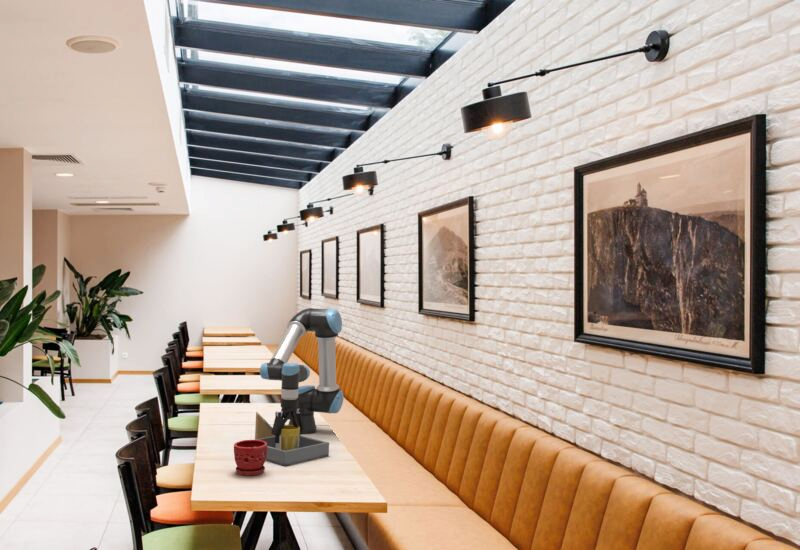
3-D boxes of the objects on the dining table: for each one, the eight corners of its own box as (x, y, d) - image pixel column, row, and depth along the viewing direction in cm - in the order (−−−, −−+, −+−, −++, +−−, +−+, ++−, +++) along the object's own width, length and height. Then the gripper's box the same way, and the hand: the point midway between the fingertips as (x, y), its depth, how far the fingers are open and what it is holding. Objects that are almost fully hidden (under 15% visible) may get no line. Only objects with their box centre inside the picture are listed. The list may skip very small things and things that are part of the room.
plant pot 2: (276, 445, 322) (277, 424, 322) (299, 446, 323) (300, 424, 323) (274, 451, 312) (275, 429, 312) (298, 452, 313) (299, 429, 313)
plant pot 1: (237, 467, 294) (238, 438, 294) (269, 469, 294) (270, 440, 294) (228, 476, 281) (230, 445, 281) (262, 478, 281) (263, 447, 281)
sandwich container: (289, 446, 336) (290, 414, 336) (256, 447, 331) (257, 414, 331) (287, 442, 344) (288, 411, 344) (254, 442, 340) (256, 411, 340)
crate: (288, 445, 336) (289, 433, 336) (328, 456, 319) (329, 442, 320) (244, 454, 316) (245, 441, 316) (284, 466, 299) (285, 451, 299)
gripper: (302, 394, 329) (300, 443, 329) (264, 399, 311) (262, 450, 311) (313, 396, 324) (311, 445, 324) (275, 402, 307) (273, 454, 306)
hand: (287, 448), depth 318 cm, fingers closed on plant pot 2, 10 cm apart
